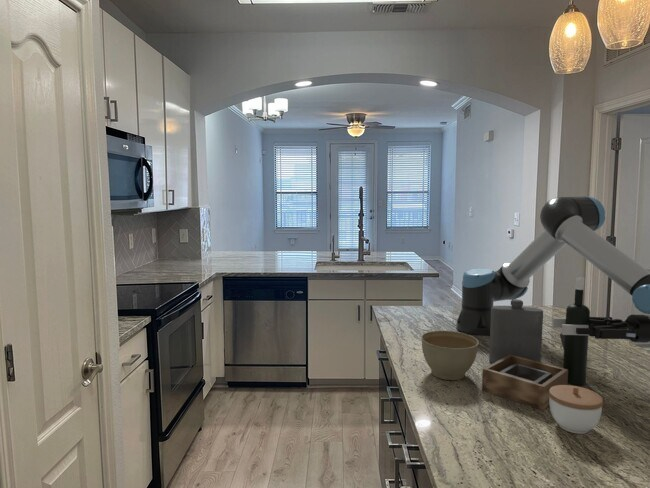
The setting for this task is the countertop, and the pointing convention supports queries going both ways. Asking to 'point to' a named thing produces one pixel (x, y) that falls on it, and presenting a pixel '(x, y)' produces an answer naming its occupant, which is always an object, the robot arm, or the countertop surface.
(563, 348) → the electrical switch
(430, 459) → the countertop surface
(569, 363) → the wine bottle
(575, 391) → the lidded jar
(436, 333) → the planter bowl
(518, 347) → the flask
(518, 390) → the crate
